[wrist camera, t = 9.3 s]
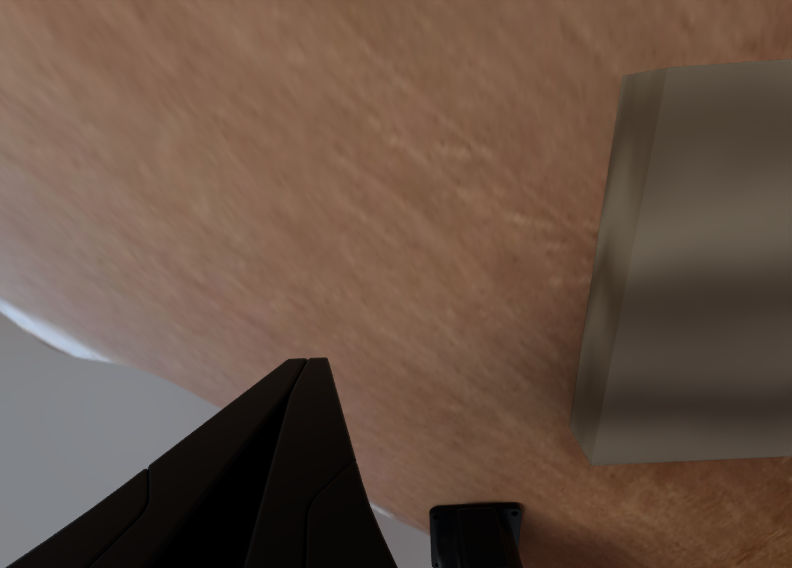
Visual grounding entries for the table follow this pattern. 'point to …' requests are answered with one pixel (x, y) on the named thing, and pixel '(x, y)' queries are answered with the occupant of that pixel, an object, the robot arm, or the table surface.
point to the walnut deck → (693, 272)
